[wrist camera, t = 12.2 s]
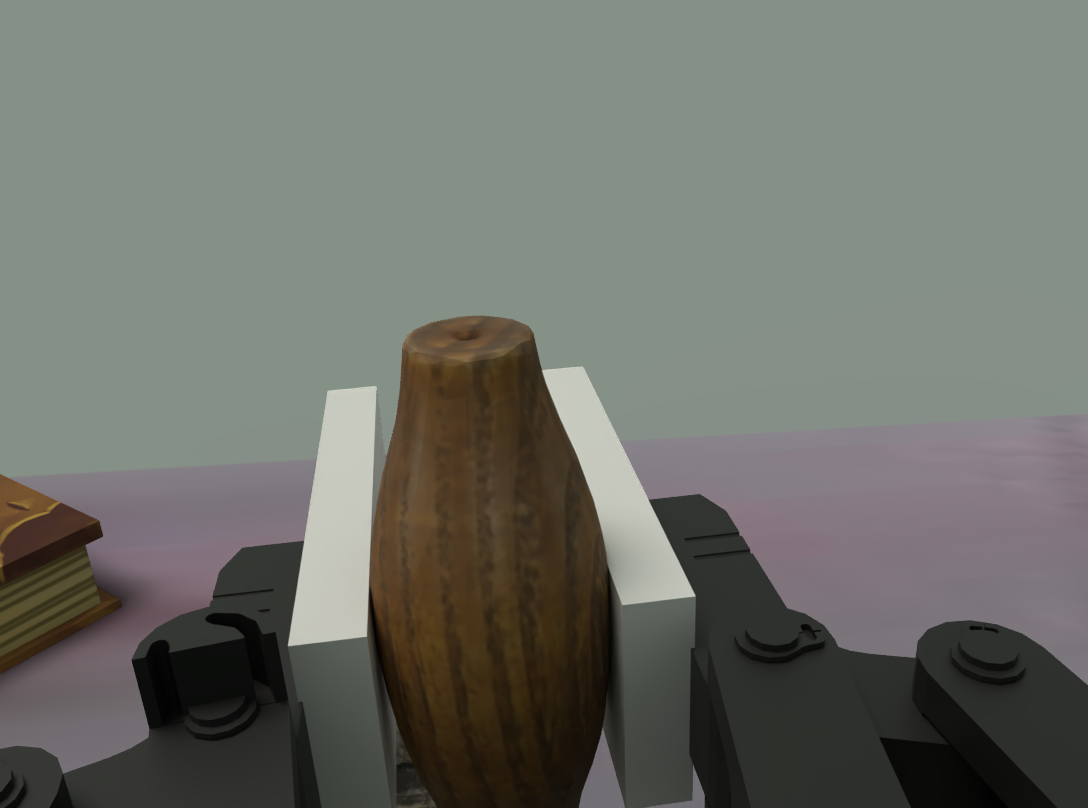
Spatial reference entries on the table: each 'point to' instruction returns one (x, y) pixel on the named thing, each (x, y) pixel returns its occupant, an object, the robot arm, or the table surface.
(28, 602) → the diary
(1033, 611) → the table surface
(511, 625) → the hand bell
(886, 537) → the table surface
